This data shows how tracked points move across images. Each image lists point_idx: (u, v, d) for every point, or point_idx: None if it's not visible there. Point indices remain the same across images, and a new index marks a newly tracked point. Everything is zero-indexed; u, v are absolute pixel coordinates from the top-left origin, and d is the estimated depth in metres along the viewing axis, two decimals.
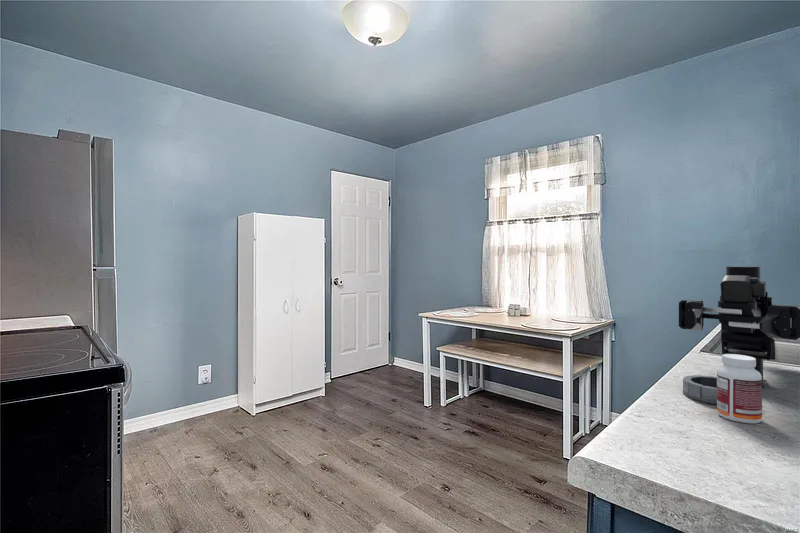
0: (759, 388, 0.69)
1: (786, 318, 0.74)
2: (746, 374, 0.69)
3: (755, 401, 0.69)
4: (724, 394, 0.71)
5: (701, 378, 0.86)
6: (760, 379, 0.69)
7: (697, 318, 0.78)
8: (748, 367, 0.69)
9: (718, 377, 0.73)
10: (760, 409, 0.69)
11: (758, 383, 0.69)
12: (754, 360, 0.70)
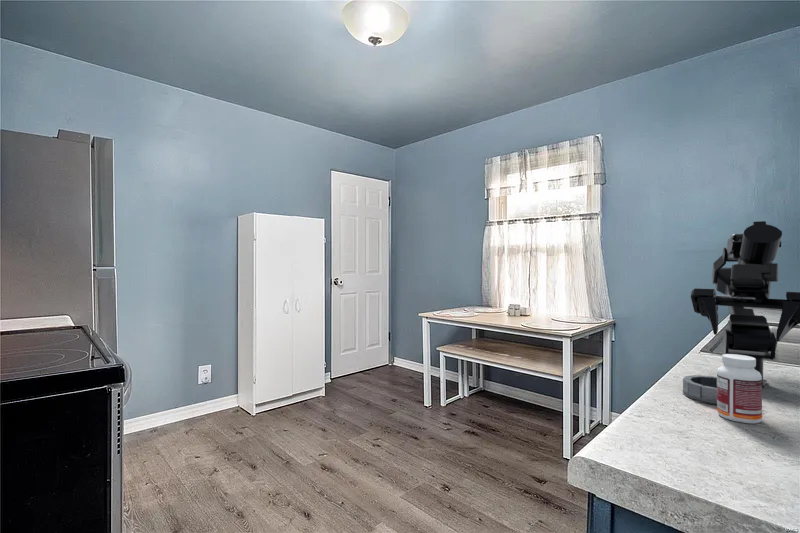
0: (759, 388, 0.69)
1: None
2: (746, 374, 0.69)
3: (755, 401, 0.69)
4: (724, 394, 0.71)
5: (701, 378, 0.86)
6: (760, 379, 0.69)
7: (714, 331, 0.80)
8: (748, 367, 0.69)
9: (718, 377, 0.73)
10: (760, 409, 0.69)
11: (758, 383, 0.69)
12: (754, 360, 0.70)
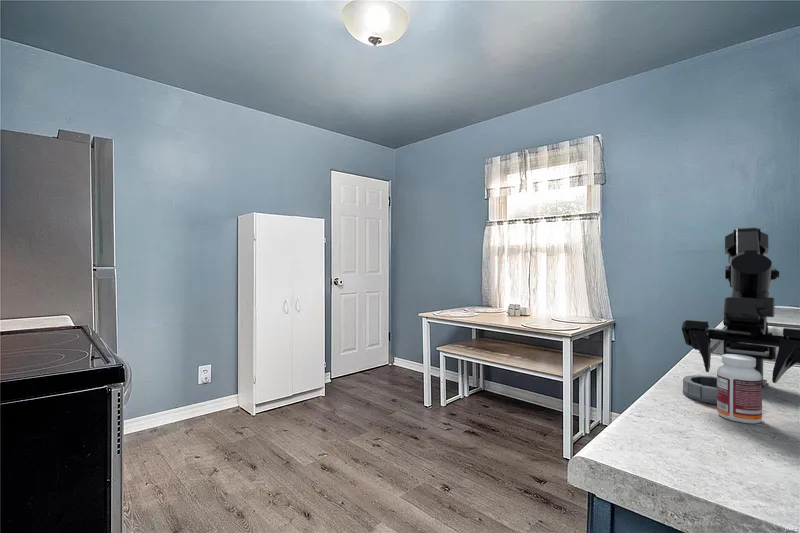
0: (759, 388, 0.69)
1: (799, 350, 0.68)
2: (746, 374, 0.69)
3: (755, 401, 0.69)
4: (724, 394, 0.71)
5: (701, 378, 0.86)
6: (760, 379, 0.69)
7: (706, 369, 0.75)
8: (748, 367, 0.69)
9: (718, 377, 0.73)
10: (760, 409, 0.69)
11: (758, 383, 0.69)
12: (754, 360, 0.70)
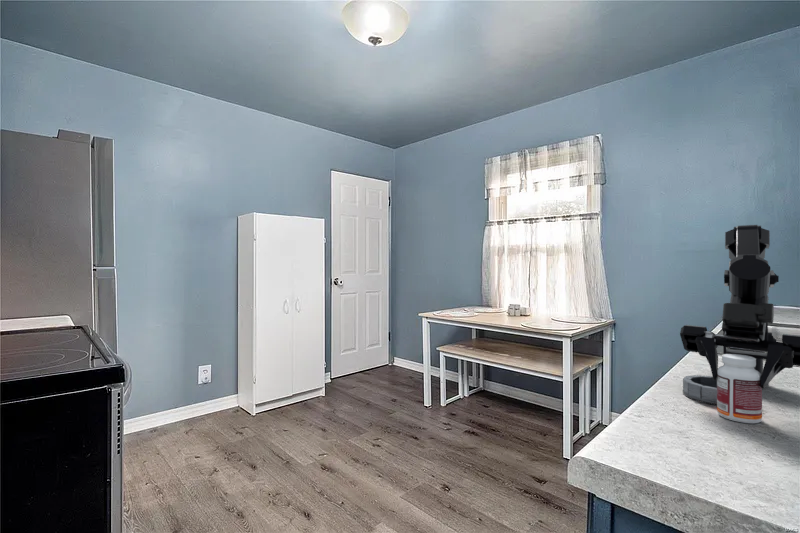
0: (759, 388, 0.69)
1: (788, 355, 0.69)
2: (746, 374, 0.69)
3: (755, 401, 0.69)
4: (724, 394, 0.71)
5: (701, 378, 0.86)
6: (760, 379, 0.69)
7: (713, 376, 0.73)
8: (748, 367, 0.69)
9: (718, 377, 0.73)
10: (760, 409, 0.69)
11: (758, 383, 0.69)
12: (754, 360, 0.70)
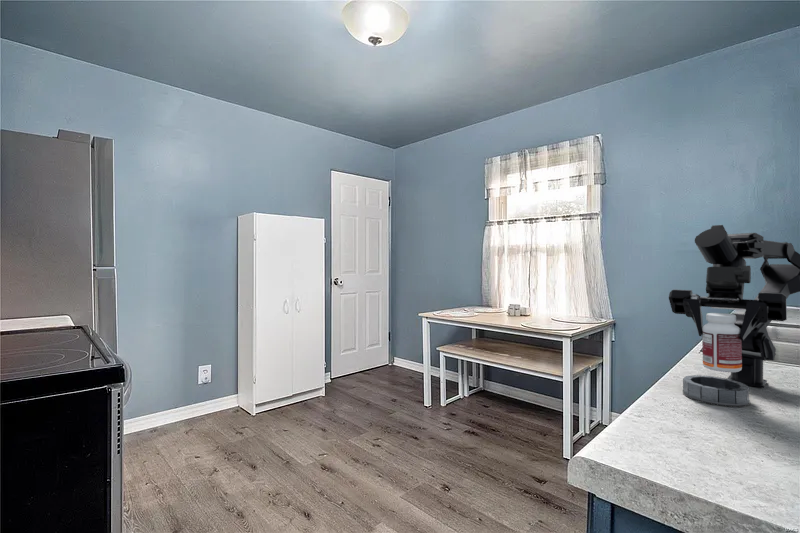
0: (739, 340, 0.77)
1: (763, 310, 0.78)
2: (727, 328, 0.78)
3: (735, 352, 0.77)
4: (709, 348, 0.80)
5: (701, 378, 0.86)
6: None
7: (699, 333, 0.82)
8: (729, 322, 0.78)
9: (703, 333, 0.81)
10: (740, 359, 0.78)
11: (738, 336, 0.77)
12: (734, 316, 0.78)
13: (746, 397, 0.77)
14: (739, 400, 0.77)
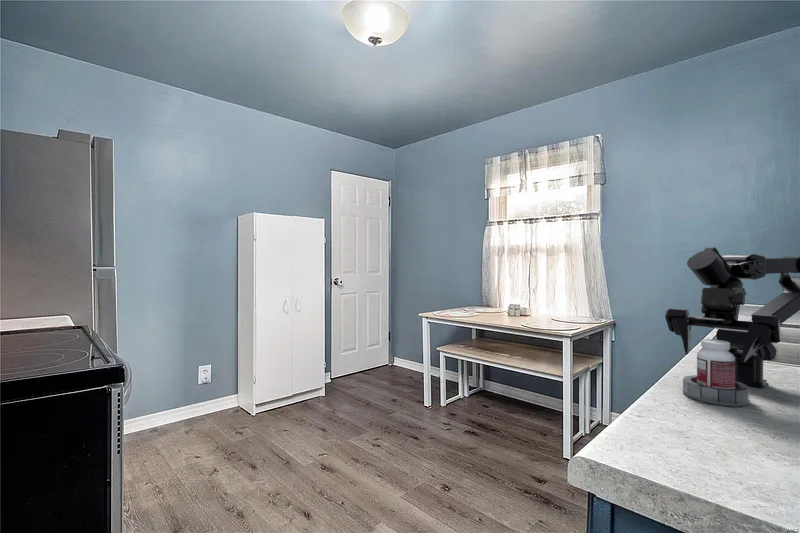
0: (732, 368, 0.79)
1: (766, 333, 0.78)
2: (721, 356, 0.80)
3: (728, 379, 0.79)
4: (703, 374, 0.82)
5: None
6: (733, 360, 0.80)
7: (685, 351, 0.84)
8: (723, 350, 0.80)
9: (698, 359, 0.83)
10: (733, 386, 0.80)
11: (731, 363, 0.79)
12: (728, 344, 0.80)
13: (746, 397, 0.77)
14: (739, 400, 0.77)
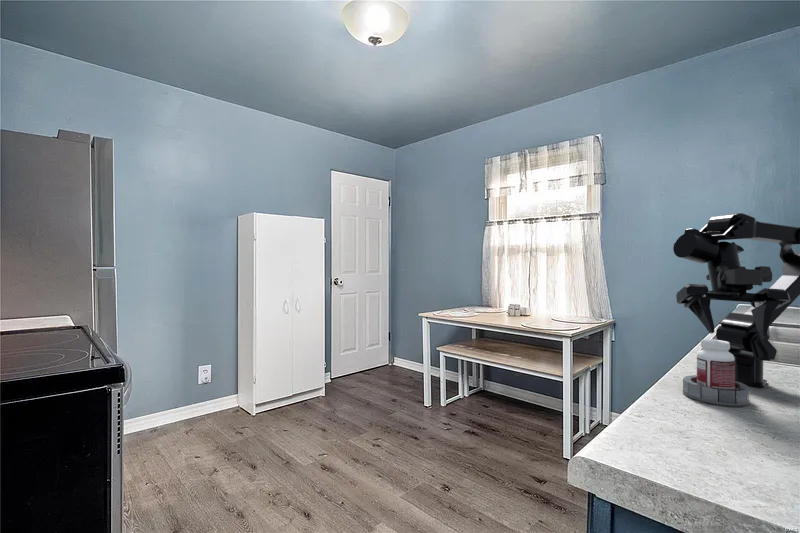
0: (732, 368, 0.79)
1: (776, 307, 0.83)
2: (721, 356, 0.80)
3: (728, 379, 0.79)
4: (703, 374, 0.82)
5: None
6: (733, 360, 0.80)
7: (712, 331, 0.84)
8: (722, 350, 0.80)
9: (697, 359, 0.83)
10: (733, 386, 0.80)
11: (731, 363, 0.79)
12: (728, 344, 0.80)
13: (746, 397, 0.77)
14: (739, 400, 0.77)
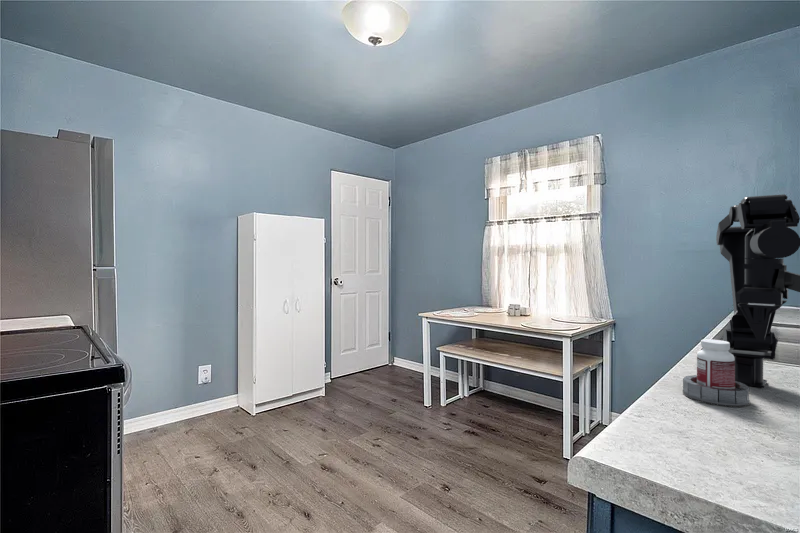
0: (732, 368, 0.79)
1: None
2: (721, 356, 0.80)
3: (728, 379, 0.79)
4: (703, 374, 0.82)
5: None
6: (733, 360, 0.80)
7: (763, 339, 0.76)
8: (722, 350, 0.80)
9: (697, 359, 0.83)
10: (733, 386, 0.80)
11: (731, 363, 0.79)
12: (728, 344, 0.80)
13: (746, 397, 0.77)
14: (739, 400, 0.77)
